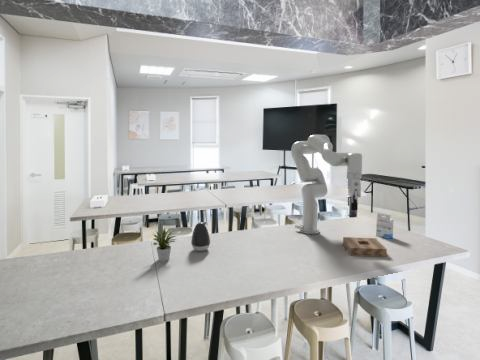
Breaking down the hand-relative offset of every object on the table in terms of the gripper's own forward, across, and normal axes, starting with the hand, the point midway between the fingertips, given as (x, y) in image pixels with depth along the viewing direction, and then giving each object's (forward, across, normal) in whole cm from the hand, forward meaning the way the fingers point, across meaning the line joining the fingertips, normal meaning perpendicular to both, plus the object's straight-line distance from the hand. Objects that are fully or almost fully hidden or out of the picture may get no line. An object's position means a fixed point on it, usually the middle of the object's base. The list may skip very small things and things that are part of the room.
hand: (353, 208), depth 171 cm
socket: (+22, -3, -5) cm, 23 cm away
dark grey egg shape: (+21, -15, +83) cm, 87 cm away
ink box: (+22, +24, -24) cm, 40 cm away
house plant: (+21, -32, +97) cm, 105 cm away
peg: (+4, 0, 0) cm, 4 cm away
